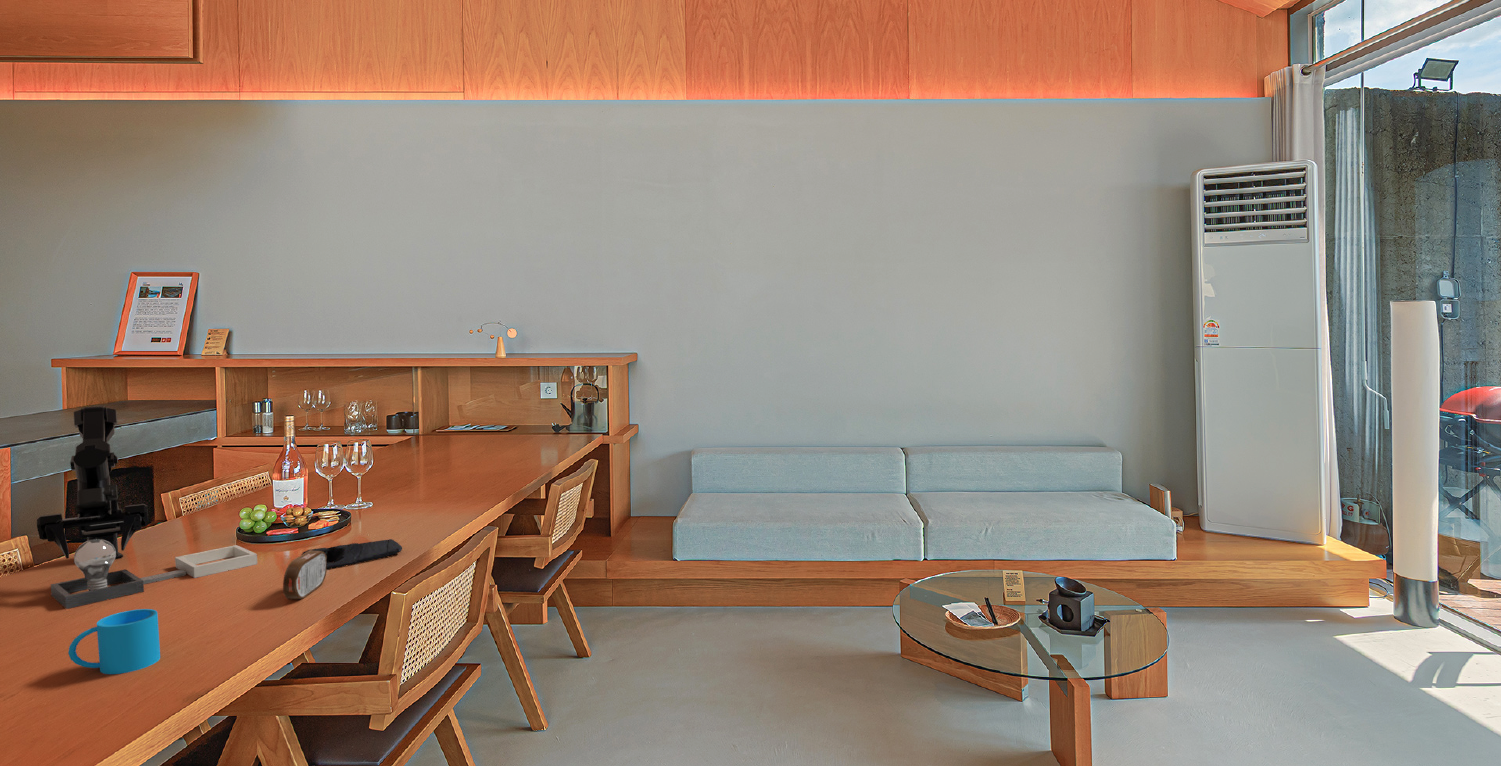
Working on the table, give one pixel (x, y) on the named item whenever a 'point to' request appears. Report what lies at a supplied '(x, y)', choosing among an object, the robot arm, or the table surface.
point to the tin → (304, 574)
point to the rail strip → (163, 576)
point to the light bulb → (95, 561)
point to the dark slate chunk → (358, 552)
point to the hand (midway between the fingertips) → (95, 553)
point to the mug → (123, 642)
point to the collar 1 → (69, 601)
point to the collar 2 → (240, 560)
